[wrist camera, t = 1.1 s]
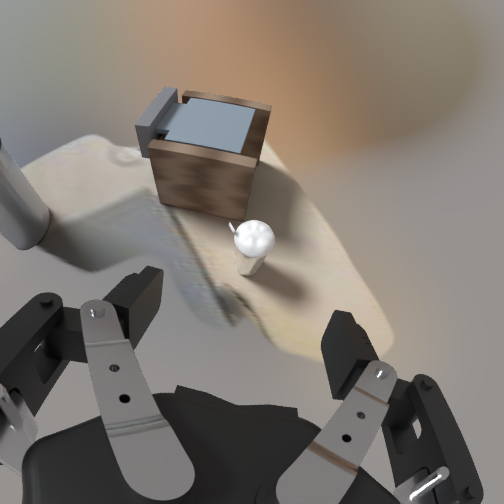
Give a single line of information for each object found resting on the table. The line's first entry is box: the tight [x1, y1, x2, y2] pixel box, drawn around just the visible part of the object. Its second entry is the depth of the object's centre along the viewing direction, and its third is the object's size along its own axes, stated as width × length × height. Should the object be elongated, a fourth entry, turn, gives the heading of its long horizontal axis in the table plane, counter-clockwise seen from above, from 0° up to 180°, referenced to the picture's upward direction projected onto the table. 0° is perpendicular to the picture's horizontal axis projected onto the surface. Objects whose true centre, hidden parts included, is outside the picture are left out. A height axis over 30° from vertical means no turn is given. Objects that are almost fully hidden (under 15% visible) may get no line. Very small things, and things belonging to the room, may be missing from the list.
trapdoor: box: [135, 87, 255, 158], centre depth 34 cm, size 13×9×6 cm
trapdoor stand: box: [148, 91, 272, 222], centre depth 38 cm, size 13×13×12 cm
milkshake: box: [229, 220, 275, 276], centre depth 34 cm, size 5×5×10 cm
